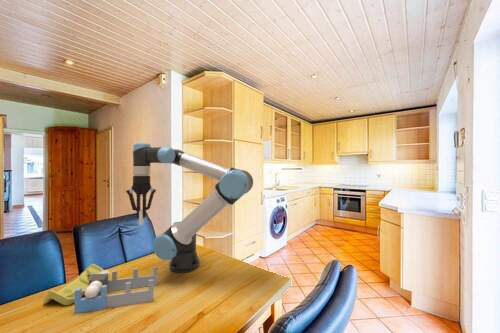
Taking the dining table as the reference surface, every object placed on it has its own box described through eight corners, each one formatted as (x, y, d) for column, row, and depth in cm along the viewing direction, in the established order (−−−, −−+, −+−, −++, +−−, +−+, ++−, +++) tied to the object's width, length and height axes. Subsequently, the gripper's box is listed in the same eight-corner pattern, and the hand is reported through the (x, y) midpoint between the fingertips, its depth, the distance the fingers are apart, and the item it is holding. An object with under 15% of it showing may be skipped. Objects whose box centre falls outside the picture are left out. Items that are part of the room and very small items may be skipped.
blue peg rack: (157, 284, 97) (157, 266, 97) (152, 301, 84) (152, 281, 84) (90, 292, 90) (91, 273, 90) (74, 313, 77) (74, 290, 77)
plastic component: (71, 301, 81) (47, 288, 81) (63, 317, 82) (40, 305, 82) (109, 271, 101) (90, 261, 101) (102, 285, 101) (84, 275, 102)
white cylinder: (98, 279, 92) (99, 268, 92) (111, 278, 94) (112, 267, 94) (80, 302, 77) (81, 288, 77) (96, 300, 78) (97, 287, 78)
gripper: (157, 175, 111) (157, 221, 110) (128, 175, 107) (128, 223, 107) (155, 175, 103) (154, 225, 103) (124, 175, 100) (123, 227, 100)
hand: (141, 224), depth 105 cm, fingers closed
